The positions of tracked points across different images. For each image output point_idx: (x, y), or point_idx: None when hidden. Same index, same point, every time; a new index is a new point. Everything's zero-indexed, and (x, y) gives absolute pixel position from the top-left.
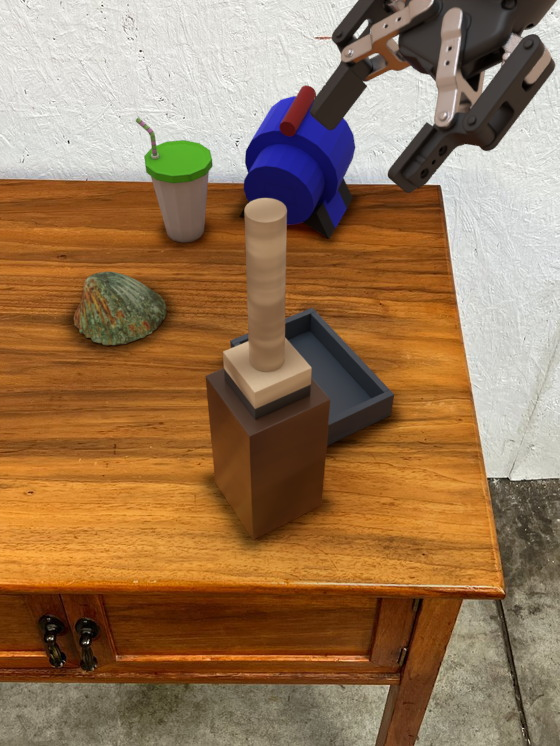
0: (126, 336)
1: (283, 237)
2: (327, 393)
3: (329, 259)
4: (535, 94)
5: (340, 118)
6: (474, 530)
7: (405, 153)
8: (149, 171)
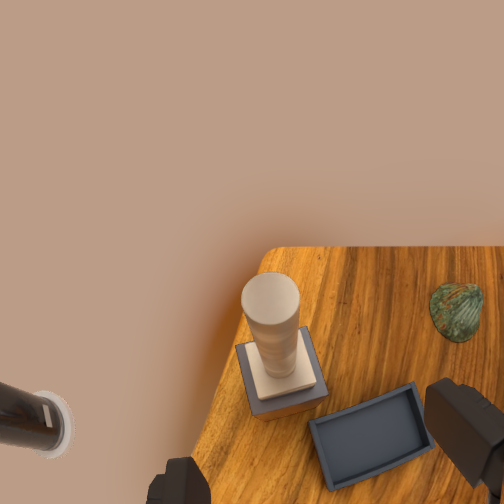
0: (434, 313)
1: (252, 328)
2: (358, 449)
3: None
4: None
5: (436, 438)
6: (216, 501)
7: (176, 489)
8: None
